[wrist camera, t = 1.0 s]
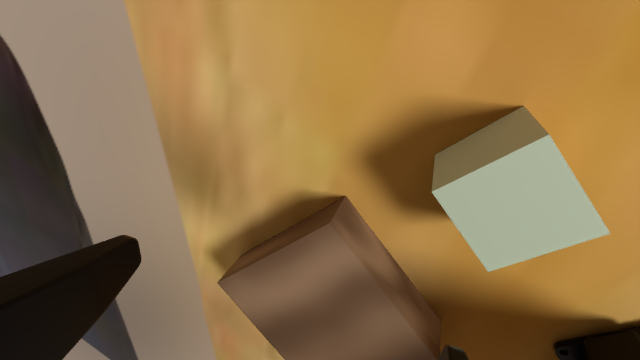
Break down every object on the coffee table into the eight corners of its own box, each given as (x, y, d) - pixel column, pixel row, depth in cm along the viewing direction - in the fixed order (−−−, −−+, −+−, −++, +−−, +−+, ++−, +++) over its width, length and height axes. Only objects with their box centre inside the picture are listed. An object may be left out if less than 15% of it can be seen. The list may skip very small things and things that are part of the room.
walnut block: (440, 316, 24) (439, 363, 21) (324, 347, 31) (309, 387, 27) (347, 192, 23) (329, 222, 19) (244, 252, 29) (217, 282, 25)
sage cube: (570, 181, 17) (610, 233, 13) (479, 218, 20) (488, 272, 16) (523, 105, 17) (549, 134, 12) (435, 154, 19) (431, 191, 15)
